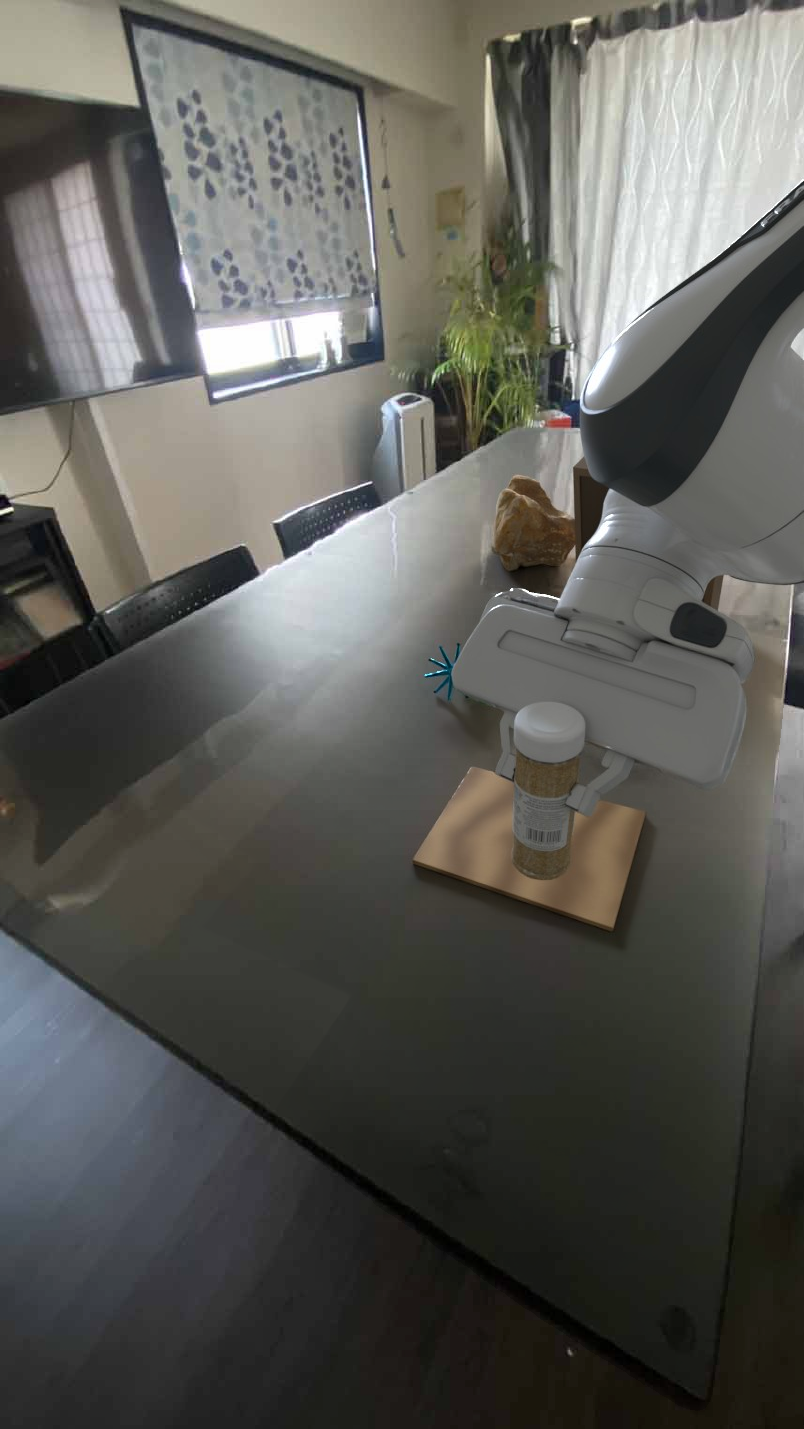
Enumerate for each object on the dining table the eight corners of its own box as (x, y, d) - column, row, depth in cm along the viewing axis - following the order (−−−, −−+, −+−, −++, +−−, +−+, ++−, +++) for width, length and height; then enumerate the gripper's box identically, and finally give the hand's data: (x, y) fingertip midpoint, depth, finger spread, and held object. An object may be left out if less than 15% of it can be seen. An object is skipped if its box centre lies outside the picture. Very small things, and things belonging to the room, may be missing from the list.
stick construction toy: (413, 684, 89) (437, 633, 88) (425, 685, 95) (448, 638, 94) (491, 722, 86) (517, 670, 85) (498, 721, 93) (522, 672, 92)
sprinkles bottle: (577, 848, 50) (594, 706, 42) (560, 891, 47) (575, 746, 39) (520, 831, 52) (527, 692, 44) (500, 871, 48) (504, 729, 41)
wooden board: (645, 815, 68) (646, 811, 68) (612, 932, 57) (613, 928, 57) (471, 769, 77) (471, 765, 76) (412, 863, 65) (412, 859, 65)
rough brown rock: (571, 589, 117) (586, 507, 109) (481, 578, 120) (489, 498, 112) (575, 546, 136) (588, 473, 127) (497, 538, 139) (505, 466, 131)
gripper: (481, 565, 48) (405, 733, 48) (776, 638, 36) (677, 859, 36) (512, 598, 53) (444, 749, 53) (779, 671, 42) (693, 865, 41)
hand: (540, 795), depth 45 cm, fingers closed on sprinkles bottle, 4 cm apart
